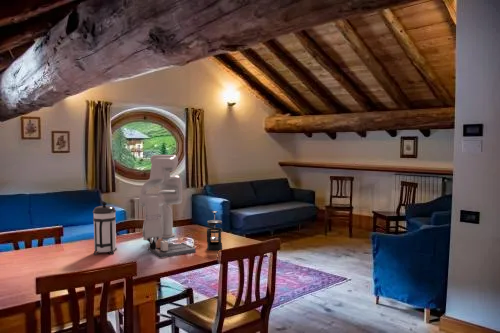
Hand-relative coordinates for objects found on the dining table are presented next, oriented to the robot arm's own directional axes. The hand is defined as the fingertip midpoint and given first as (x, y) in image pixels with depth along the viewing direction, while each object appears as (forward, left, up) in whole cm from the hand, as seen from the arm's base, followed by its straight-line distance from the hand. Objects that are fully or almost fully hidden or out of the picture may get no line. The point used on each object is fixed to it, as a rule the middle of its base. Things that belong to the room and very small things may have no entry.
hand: (152, 249), depth 244 cm
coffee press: (-21, -21, -4) cm, 30 cm away
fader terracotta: (-8, +7, -1) cm, 11 cm away
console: (-4, +13, -4) cm, 14 cm away
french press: (+5, +37, -4) cm, 38 cm away
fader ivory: (0, +7, -1) cm, 7 cm away
